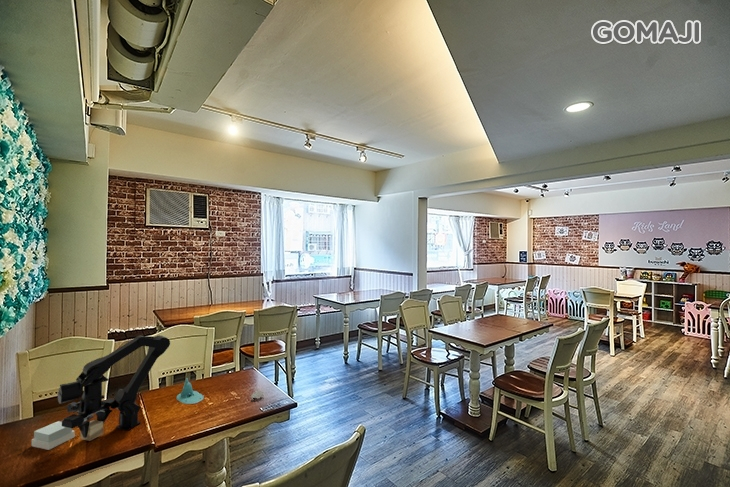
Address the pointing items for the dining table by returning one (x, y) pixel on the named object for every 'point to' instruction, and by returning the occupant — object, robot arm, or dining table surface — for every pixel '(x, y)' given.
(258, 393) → the car cutout
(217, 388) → the dining table surface
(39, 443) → the tower base block
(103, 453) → the dining table surface
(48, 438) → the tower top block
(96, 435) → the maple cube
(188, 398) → the teal witch hat
